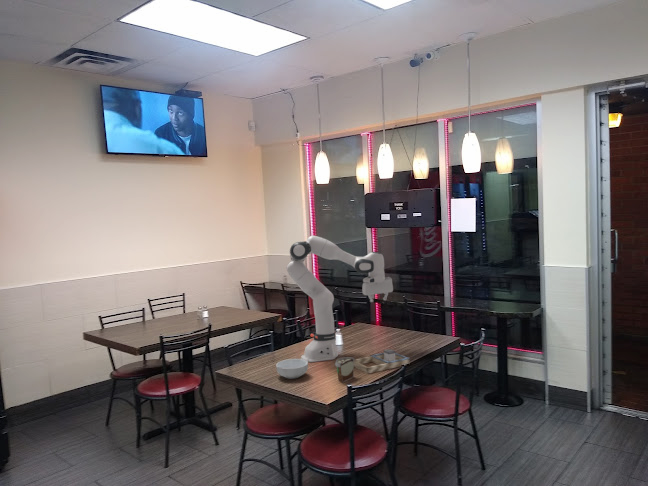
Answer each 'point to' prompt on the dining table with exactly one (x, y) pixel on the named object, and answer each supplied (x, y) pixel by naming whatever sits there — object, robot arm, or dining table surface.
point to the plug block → (389, 355)
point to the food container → (345, 368)
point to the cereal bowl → (292, 368)
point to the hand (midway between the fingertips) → (378, 301)
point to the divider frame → (380, 362)
